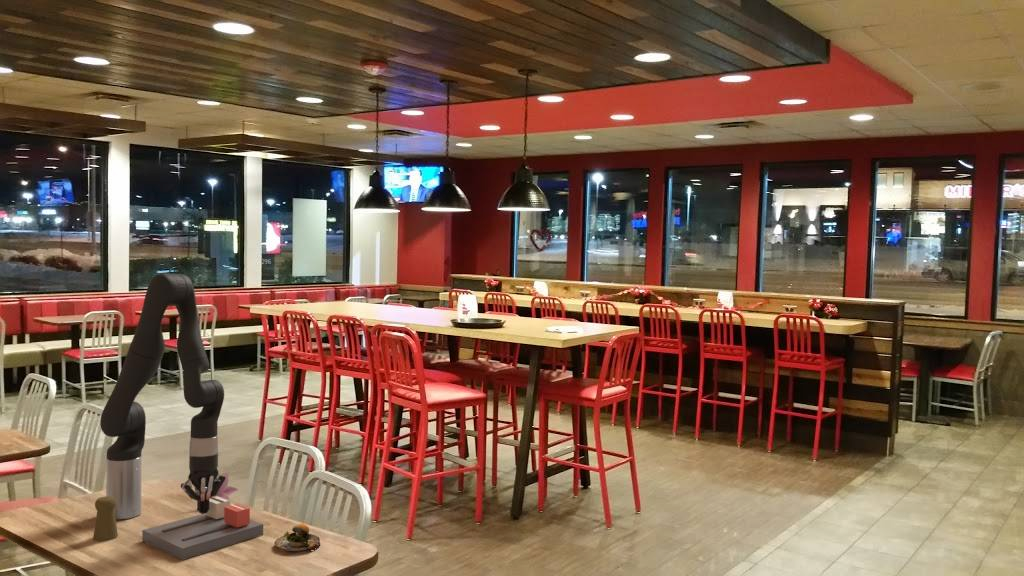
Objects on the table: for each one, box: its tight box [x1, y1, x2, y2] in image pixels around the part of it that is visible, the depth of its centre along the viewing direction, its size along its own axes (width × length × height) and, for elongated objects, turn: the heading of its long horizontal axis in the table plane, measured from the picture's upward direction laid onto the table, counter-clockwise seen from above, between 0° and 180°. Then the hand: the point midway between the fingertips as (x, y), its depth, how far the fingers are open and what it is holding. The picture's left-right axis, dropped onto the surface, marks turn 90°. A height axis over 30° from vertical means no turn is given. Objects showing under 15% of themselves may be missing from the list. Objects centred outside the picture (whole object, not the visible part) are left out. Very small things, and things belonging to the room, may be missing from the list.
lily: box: [193, 470, 239, 506], centre depth 243 cm, size 12×12×10 cm
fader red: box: [224, 503, 251, 528], centre depth 219 cm, size 6×4×5 cm, turn 53°
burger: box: [273, 517, 321, 552], centre depth 212 cm, size 12×12×8 cm
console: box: [141, 513, 264, 561], centre depth 217 cm, size 20×24×3 cm
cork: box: [92, 496, 119, 542], centre depth 215 cm, size 6×6×11 cm
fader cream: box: [204, 496, 230, 519], centre depth 225 cm, size 6×4×5 cm, turn 53°
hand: (203, 512), depth 222 cm, fingers closed
